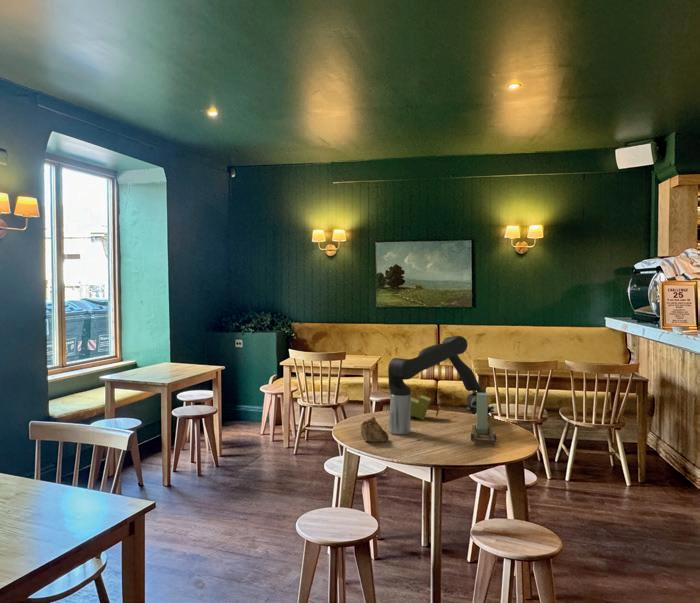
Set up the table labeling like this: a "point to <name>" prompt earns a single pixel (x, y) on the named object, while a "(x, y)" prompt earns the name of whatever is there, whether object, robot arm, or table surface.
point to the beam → (483, 438)
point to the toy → (422, 407)
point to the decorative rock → (373, 431)
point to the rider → (482, 413)
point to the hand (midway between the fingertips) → (481, 412)
